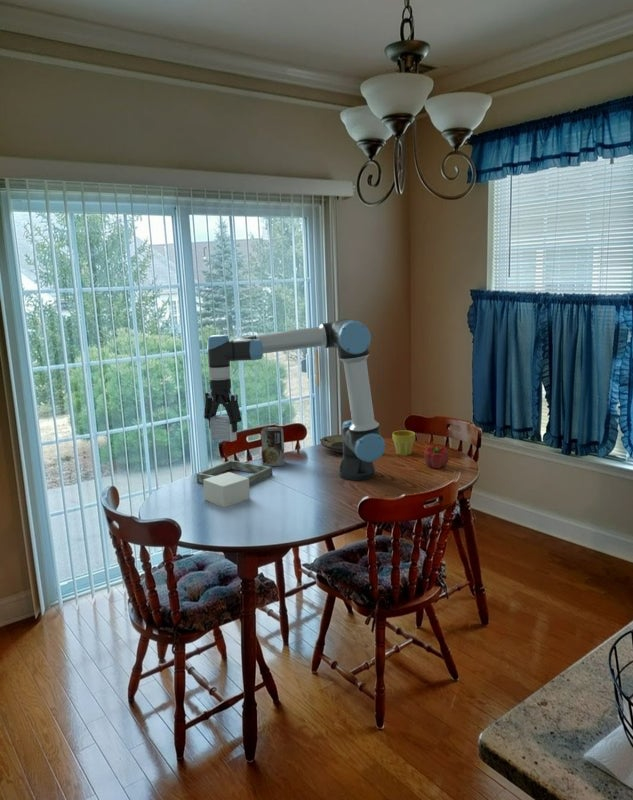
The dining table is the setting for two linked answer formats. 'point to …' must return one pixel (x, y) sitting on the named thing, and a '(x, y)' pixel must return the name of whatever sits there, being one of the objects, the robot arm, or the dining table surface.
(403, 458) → the dining table surface
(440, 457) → the vegetable
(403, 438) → the plant pot
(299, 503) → the dining table surface
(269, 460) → the coffee box
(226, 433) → the medicine box
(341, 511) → the dining table surface
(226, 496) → the riser block
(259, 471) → the bowl tray frame
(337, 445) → the olive brown bowl
